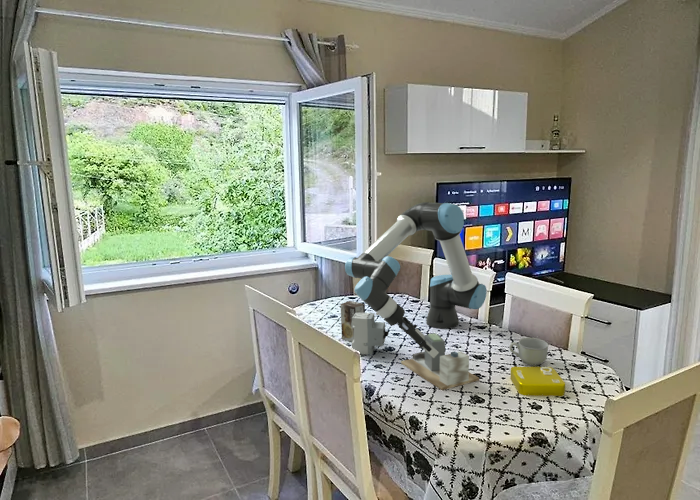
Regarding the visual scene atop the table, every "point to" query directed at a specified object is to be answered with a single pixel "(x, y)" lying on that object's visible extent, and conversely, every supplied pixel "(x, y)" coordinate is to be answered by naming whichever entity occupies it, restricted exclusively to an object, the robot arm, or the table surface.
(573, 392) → the table surface
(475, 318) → the table surface
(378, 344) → the circuit breaker
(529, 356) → the teacup
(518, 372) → the element tile
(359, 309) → the coffee box
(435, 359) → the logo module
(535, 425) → the table surface
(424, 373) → the rail plate
